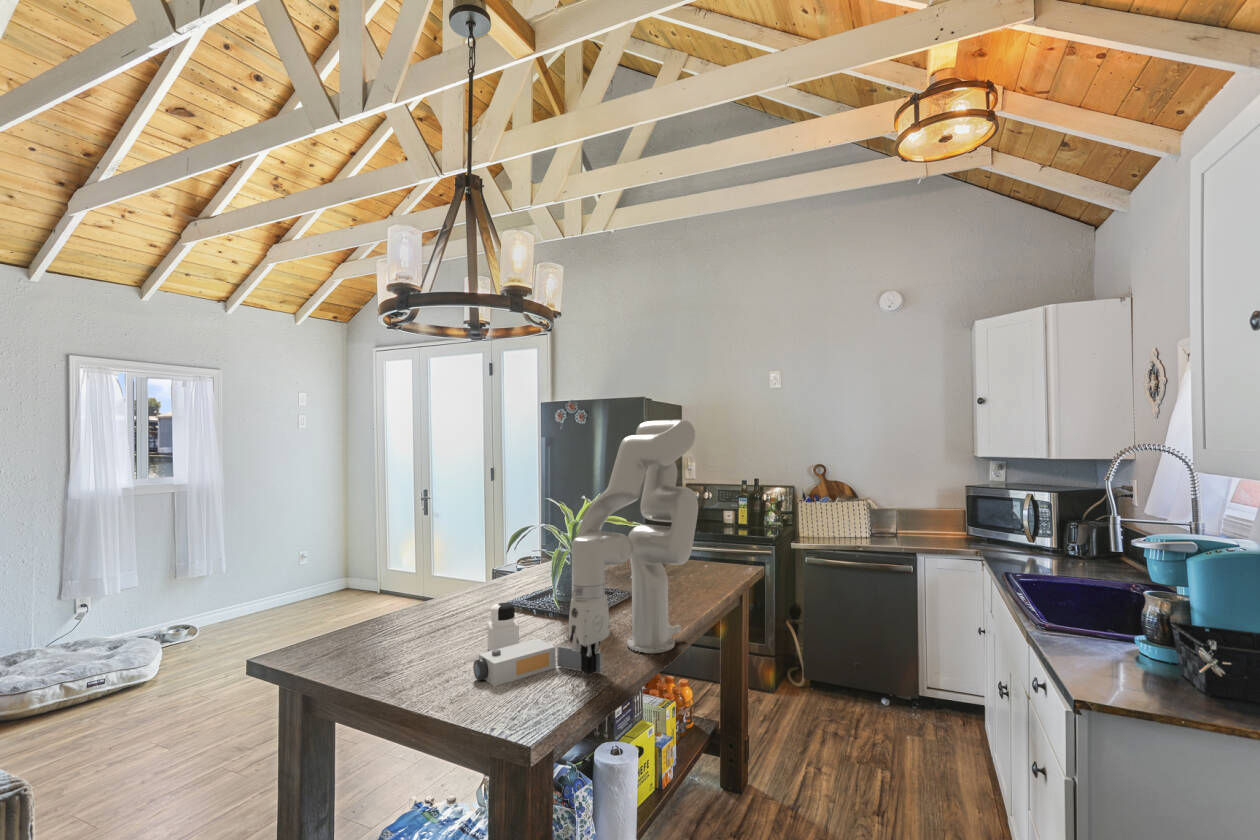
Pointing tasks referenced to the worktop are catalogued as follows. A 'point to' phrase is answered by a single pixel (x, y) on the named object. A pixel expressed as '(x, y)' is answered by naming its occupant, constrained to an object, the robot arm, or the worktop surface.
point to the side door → (574, 659)
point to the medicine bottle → (502, 627)
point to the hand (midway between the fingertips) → (588, 671)
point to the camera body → (515, 662)
